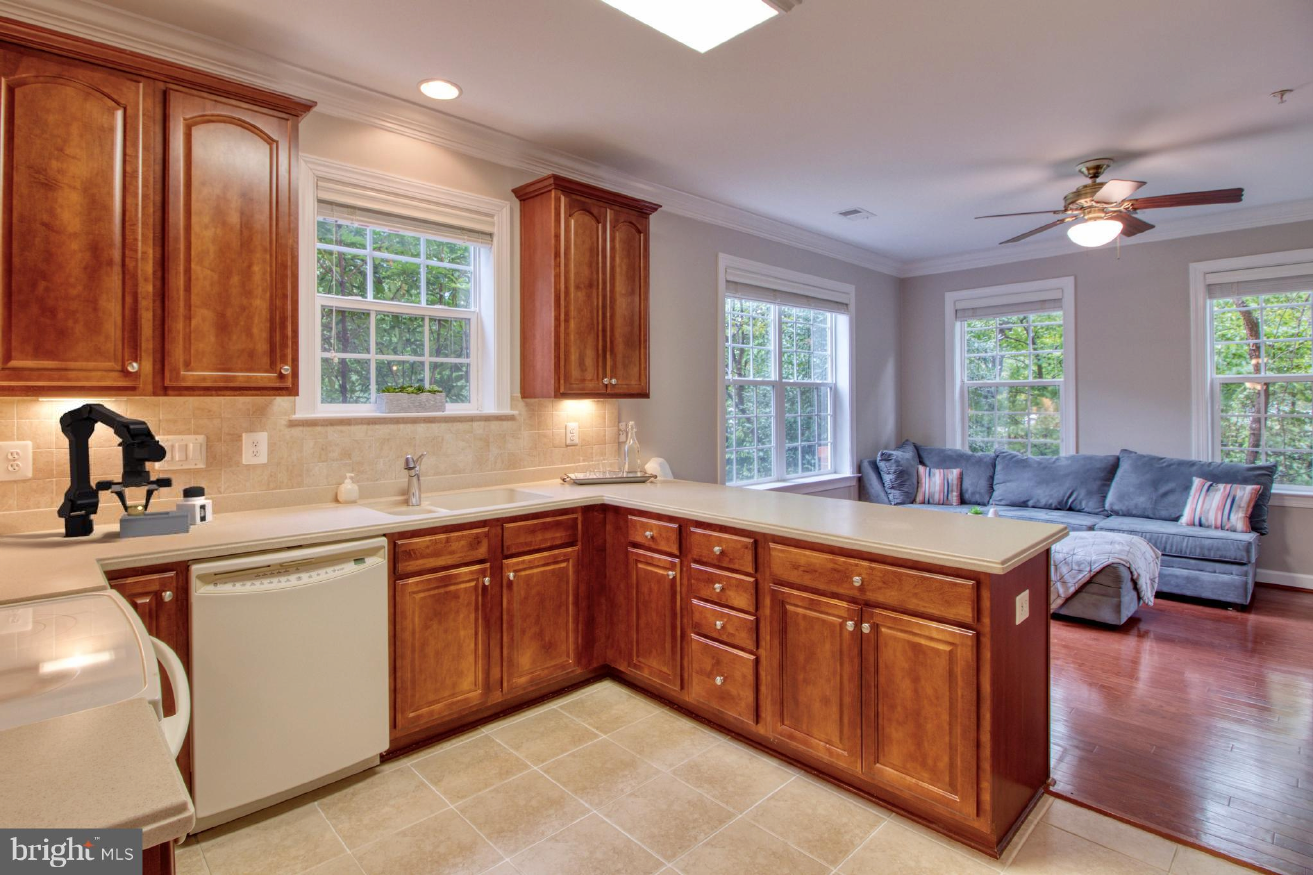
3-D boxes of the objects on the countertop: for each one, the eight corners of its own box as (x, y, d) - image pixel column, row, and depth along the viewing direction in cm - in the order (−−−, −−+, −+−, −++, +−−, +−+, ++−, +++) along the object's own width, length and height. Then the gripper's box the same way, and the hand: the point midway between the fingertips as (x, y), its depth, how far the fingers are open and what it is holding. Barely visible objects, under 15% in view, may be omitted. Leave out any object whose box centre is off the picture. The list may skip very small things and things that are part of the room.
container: (212, 521, 248) (211, 485, 248) (196, 525, 241) (195, 488, 240) (193, 520, 249) (191, 485, 249) (176, 524, 242) (174, 487, 241)
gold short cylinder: (126, 516, 210) (125, 507, 210) (128, 514, 214) (127, 505, 214) (144, 515, 213) (144, 505, 212) (146, 513, 216) (145, 503, 216)
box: (120, 538, 218) (119, 519, 218) (124, 531, 228) (124, 513, 228) (188, 532, 228) (188, 514, 227) (190, 526, 238) (189, 509, 237)
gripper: (91, 465, 201) (93, 518, 202) (169, 462, 211) (171, 512, 211) (97, 462, 210) (99, 512, 211) (171, 459, 220) (173, 507, 221)
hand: (136, 511), depth 213 cm, fingers closed on gold short cylinder, 4 cm apart
